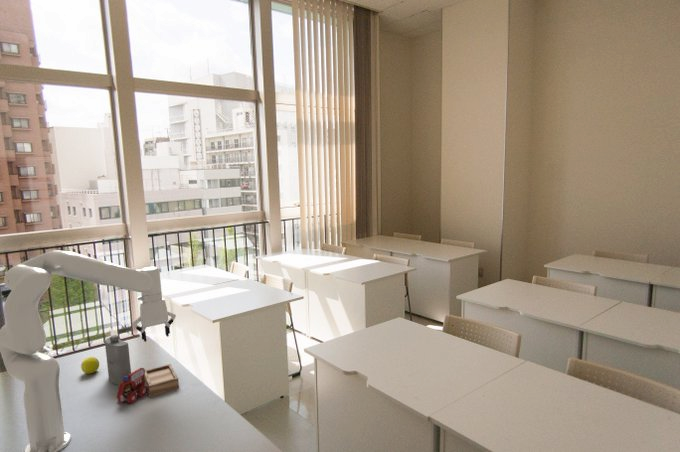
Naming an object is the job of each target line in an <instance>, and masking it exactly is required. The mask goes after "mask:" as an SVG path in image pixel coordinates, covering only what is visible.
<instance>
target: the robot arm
mask: <svg viewBox="0 0 680 452" xmlns="http://www.w3.org/2000/svg"><path fill="white" fill-rule="evenodd" d="M160 272H161V271H160V268H158V267H157V266H146V267H143V268H140V269H135V268H134V269H133V268H130V267H125V266H122V265H119V264H115V263H113V262H109V261H107V260H106V261H105V260H102V259H99V258H95V257H91V256H88V255H86V254H80V253H77V252H74V251H69V250H60V249H55V250H54V249H53V250H50V251H47V252H44V253H42V254H39V255H37V256H35V257H33V258H30V259H28V260H25V261H23V262H20V263H19V264H17V265H14V266H12V267H11V268H9V269H8V270H7V271H6V273H5V275H4V278H3V280H4V282H3V283H4V285H5V287H7V289H9V290H10V292H9V294H8V295H7V297H6V299H5V302H4V305H3V315H4V319H5V324H4V325H2V327H1V328H0V355H1V358H2V360H3V365H4V366H5V370H6V371H7V373H8V374H9V376H10V377H12V378H14V379H16V380H18V381H20V382H21V383H23V384H24V391H23V406H24V410H25V411H24V412H25V419H26V426H27V434H28V440H29V441H28V442H29V443H28V444H27V445H26V446H25V448H24V452H60V451H62V450H63V449H64V448H66V447H67V446H68V445H69V443H71V440H72V437H71V434H70V433H69V432H67V431H65V426H64V418H63V417H64V416H63V411H62V410H63V409H62V400H61V394H60V364H59V362H58V360H57V359H55V358H54V357H53V356H51V355H50V354H46V353H44V352H40V351H41V350H43V348H44V347H45V345H46V343H47V335H46V334H47V333H46V331H45V329H44V324H43V322H42V318H41V316H40V311H39V303H40V301H41V300H40V299H41V298H42V296H43V295H44V294H45V293H46V292H47V290H48V289H49V287H50V286H51V283H52V276H54V275H55V276H60V277H61V276H62V277H66V278H71V279H74V280H77V281H78V280H79V281H82V282H87V283H91V284H96V285H101V286H105V287H106V286H109V287H114V288H115V287H117V288H120V289H123V290H125V291H132V292H137V293H141V295H140V296H138V297H137V300H138V301H140V305H139V317H138V318H136V319H135V320H134V321H133V322H132V323H131V325H132V326H133V328H135V330H137V331H139V332H140V333H141V334H140V335H141V340H143V341H144V343H146V342H147V332H146V329H147V328H149V327H154V326H158V325H159V326H160V325H162V324H164V330H165V331H164V332H165V336H166V337H170V334H171V331H170V327H171V325H172V324H173V322H174V321H175V319H176V317H177V316H176V314H175V313H172V312H170V311H168V307H167V303H166V299H165V298H164V297H163V292H162V282H161V273H160ZM169 317H170V318H169ZM139 323H141V326H140V325H138V324H139Z"/></svg>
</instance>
